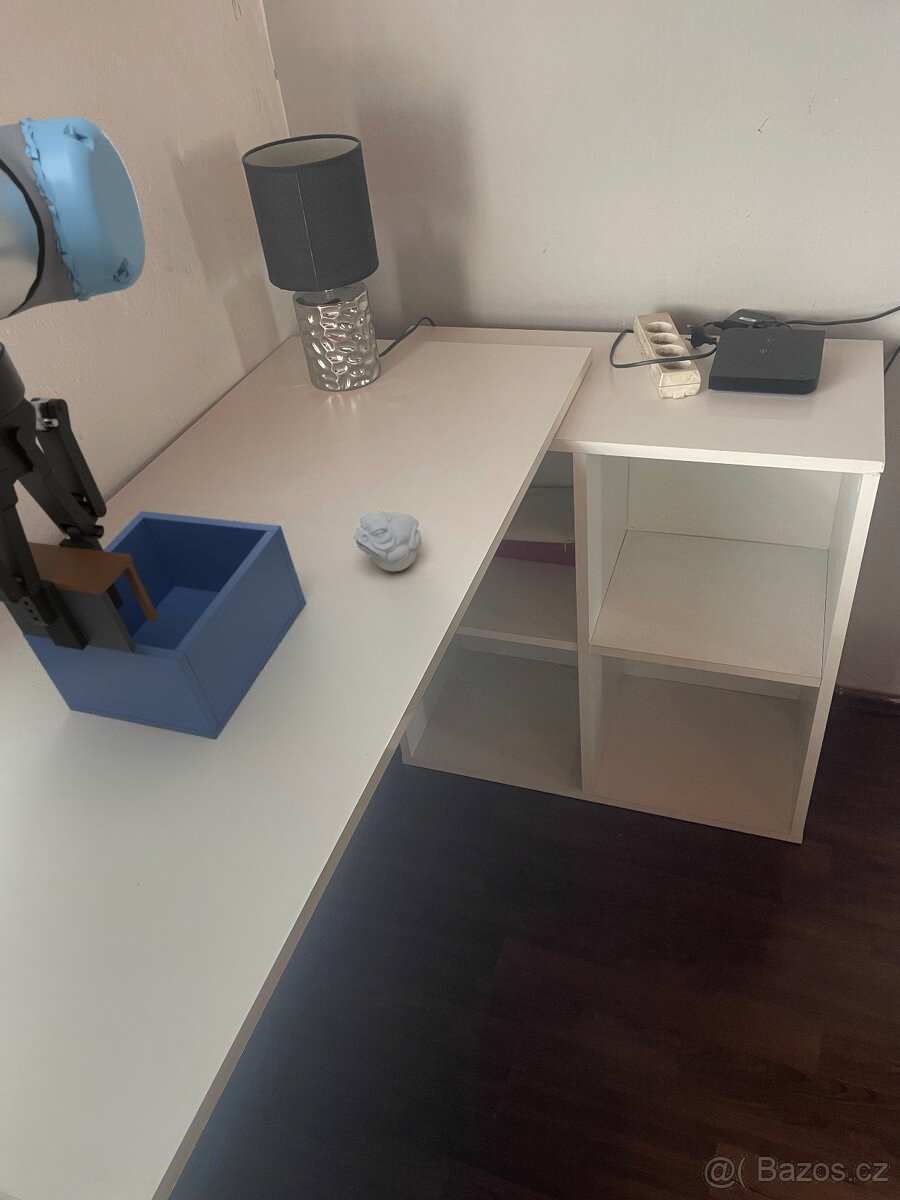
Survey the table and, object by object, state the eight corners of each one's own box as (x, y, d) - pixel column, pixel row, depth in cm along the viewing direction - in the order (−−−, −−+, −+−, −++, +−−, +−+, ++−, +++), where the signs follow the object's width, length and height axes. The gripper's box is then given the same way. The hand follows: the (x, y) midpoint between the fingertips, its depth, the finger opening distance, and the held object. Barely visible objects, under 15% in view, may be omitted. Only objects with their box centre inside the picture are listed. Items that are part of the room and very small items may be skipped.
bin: (215, 739, 75) (177, 660, 69) (69, 709, 80) (21, 633, 74) (306, 603, 87) (281, 525, 81) (174, 584, 93) (141, 510, 86)
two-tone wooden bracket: (132, 653, 67) (98, 589, 63) (23, 634, 71) (-17, 572, 66) (161, 617, 70) (130, 554, 66) (55, 601, 74) (19, 540, 69)
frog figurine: (352, 568, 91) (337, 514, 86) (408, 539, 93) (396, 485, 88) (381, 596, 87) (367, 541, 82) (439, 565, 89) (429, 510, 84)
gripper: (-122, 431, 48) (60, 710, 63) (71, 300, 59) (185, 562, 75) (-215, 424, 50) (-18, 694, 66) (-12, 299, 62) (115, 553, 77)
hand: (90, 623), depth 70 cm, fingers closed on two-tone wooden bracket, 4 cm apart
